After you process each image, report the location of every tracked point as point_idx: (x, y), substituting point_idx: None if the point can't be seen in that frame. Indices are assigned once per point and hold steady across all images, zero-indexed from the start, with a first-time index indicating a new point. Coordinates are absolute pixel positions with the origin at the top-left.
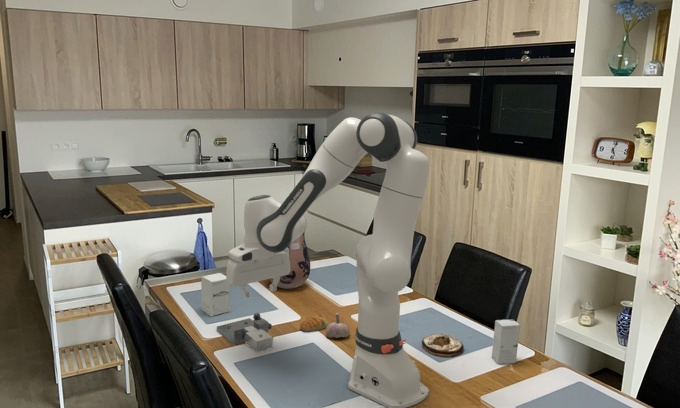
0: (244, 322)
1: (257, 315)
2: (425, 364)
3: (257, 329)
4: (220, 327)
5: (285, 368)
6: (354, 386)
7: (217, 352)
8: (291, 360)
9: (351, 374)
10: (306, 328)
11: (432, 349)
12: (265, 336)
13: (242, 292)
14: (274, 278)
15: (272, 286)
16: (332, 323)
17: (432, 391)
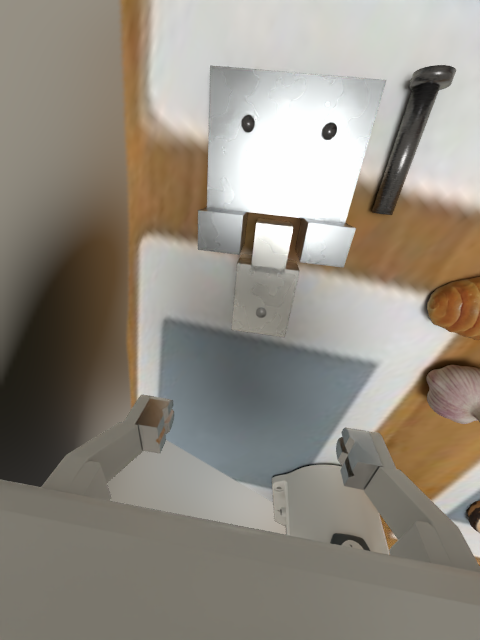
0: (323, 128)
1: (434, 83)
2: None
3: (285, 268)
4: (219, 92)
5: (239, 396)
6: (276, 487)
7: (149, 247)
8: (270, 385)
9: (285, 494)
10: (433, 322)
11: (476, 517)
12: (269, 322)
13: (128, 419)
14: (403, 547)
15: (345, 483)
16: (475, 395)
17: None
